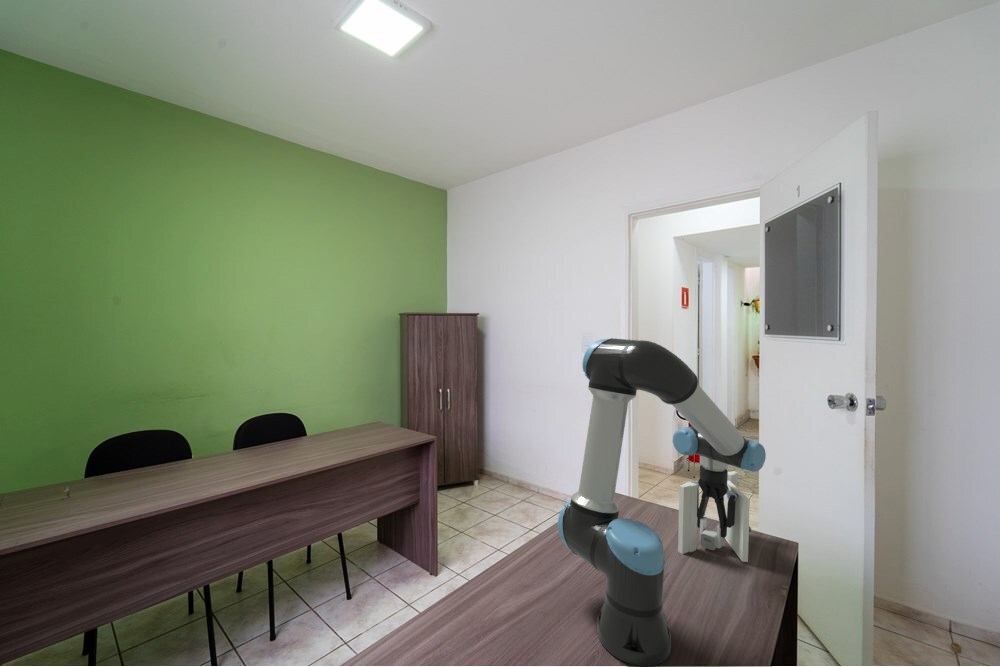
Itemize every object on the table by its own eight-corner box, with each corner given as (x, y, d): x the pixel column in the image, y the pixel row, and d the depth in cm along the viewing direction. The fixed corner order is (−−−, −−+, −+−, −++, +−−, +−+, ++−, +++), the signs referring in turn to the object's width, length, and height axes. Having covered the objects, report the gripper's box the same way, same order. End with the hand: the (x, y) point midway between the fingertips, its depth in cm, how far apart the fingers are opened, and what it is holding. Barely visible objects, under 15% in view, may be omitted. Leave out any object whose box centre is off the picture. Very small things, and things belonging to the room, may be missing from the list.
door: (722, 535, 128) (724, 480, 128) (731, 536, 128) (733, 480, 127) (742, 561, 115) (743, 499, 114) (752, 562, 114) (754, 499, 114)
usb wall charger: (700, 545, 122) (700, 532, 122) (707, 536, 127) (707, 524, 127) (714, 551, 119) (715, 537, 119) (721, 541, 124) (721, 529, 124)
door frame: (683, 555, 118) (685, 487, 118) (676, 550, 121) (677, 484, 120) (737, 533, 131) (739, 473, 130) (730, 530, 133) (731, 470, 132)
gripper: (750, 473, 118) (747, 551, 118) (691, 456, 131) (689, 527, 132) (739, 478, 113) (736, 560, 114) (679, 461, 127) (677, 534, 127)
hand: (711, 542), depth 123 cm, fingers closed on usb wall charger, 4 cm apart
